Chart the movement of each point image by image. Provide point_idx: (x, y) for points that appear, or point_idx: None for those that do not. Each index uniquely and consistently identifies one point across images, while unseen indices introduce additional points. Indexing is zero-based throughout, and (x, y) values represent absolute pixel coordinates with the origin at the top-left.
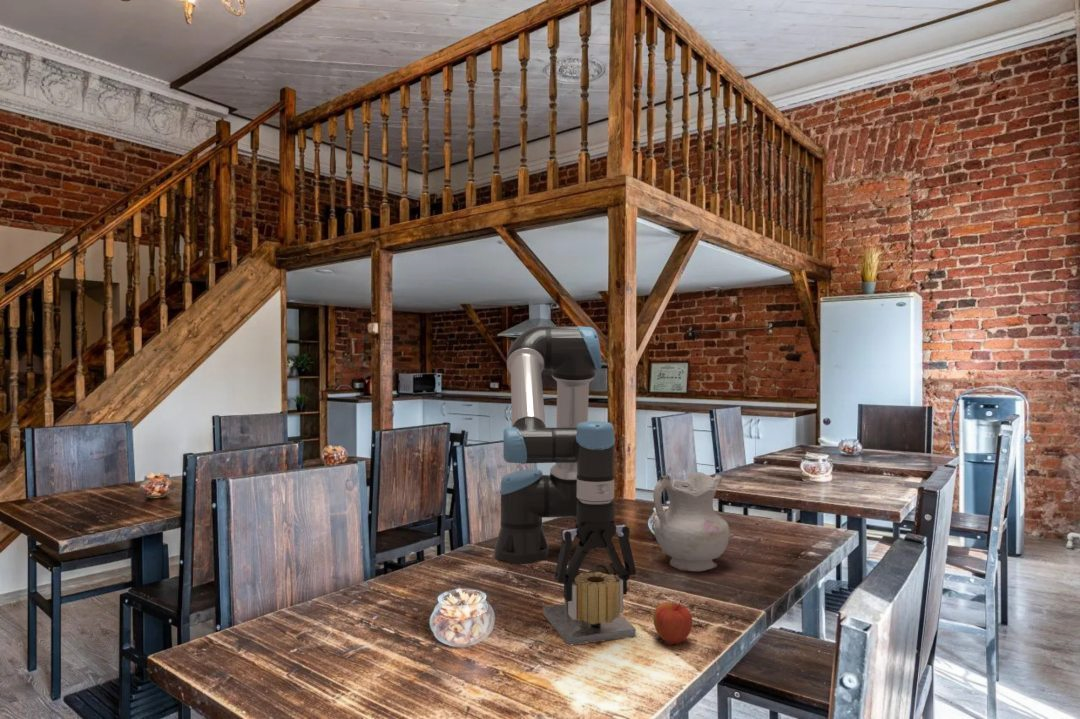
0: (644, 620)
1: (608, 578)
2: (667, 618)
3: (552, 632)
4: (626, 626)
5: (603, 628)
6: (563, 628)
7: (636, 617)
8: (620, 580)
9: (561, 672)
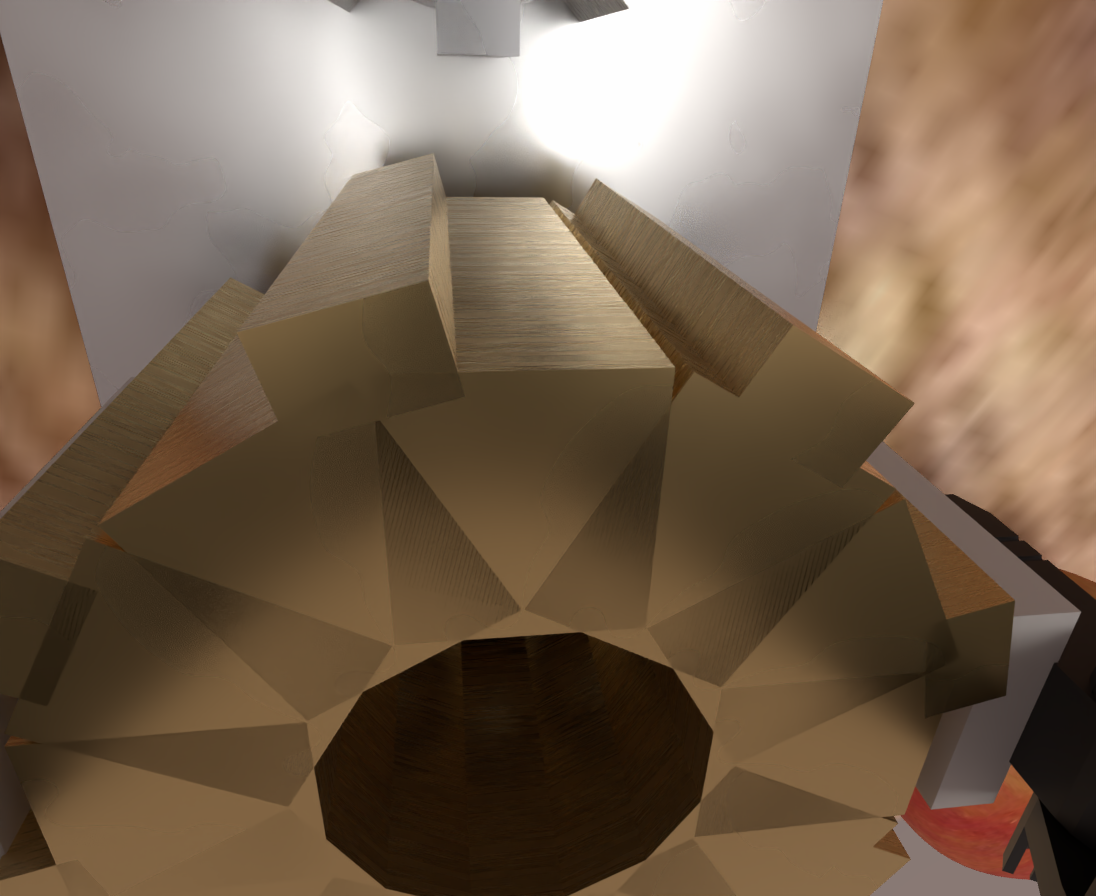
0: (1024, 224)
1: (793, 777)
2: (938, 849)
3: (33, 205)
4: None
5: None
6: (118, 355)
7: (1015, 129)
8: (947, 807)
9: None
